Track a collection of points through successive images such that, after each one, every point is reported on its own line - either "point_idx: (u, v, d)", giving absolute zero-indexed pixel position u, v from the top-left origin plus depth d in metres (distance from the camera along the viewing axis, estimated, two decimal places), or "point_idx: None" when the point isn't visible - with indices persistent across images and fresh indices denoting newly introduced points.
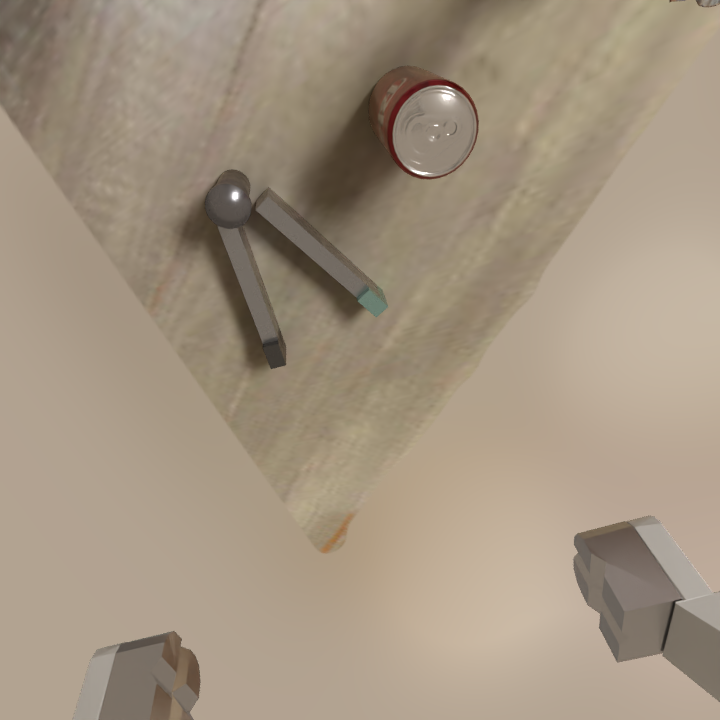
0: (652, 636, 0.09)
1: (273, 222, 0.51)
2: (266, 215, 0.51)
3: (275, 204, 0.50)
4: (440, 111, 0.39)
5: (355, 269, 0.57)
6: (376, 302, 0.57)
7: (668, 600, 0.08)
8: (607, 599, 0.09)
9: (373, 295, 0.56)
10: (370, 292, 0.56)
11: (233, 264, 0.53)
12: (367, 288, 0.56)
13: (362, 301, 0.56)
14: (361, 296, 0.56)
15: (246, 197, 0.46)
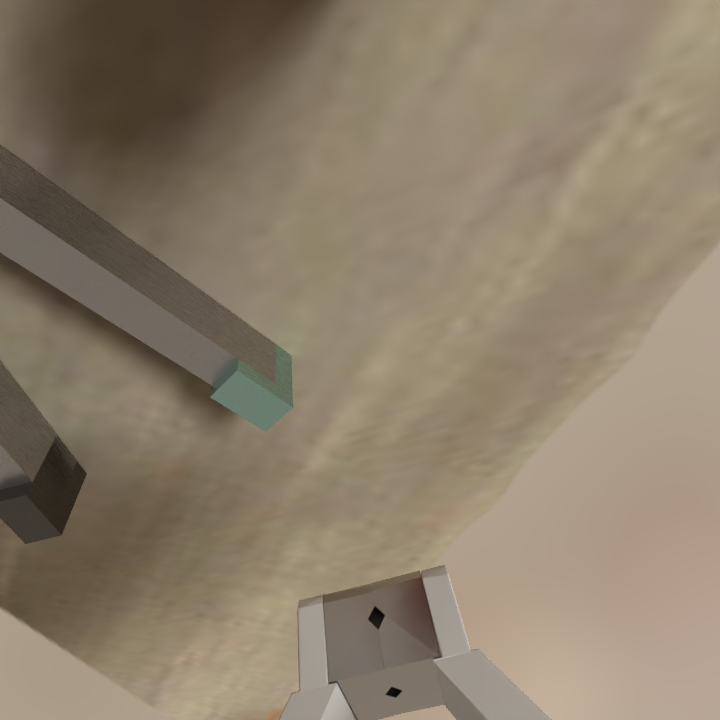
0: (427, 689, 0.09)
1: None
2: None
3: None
4: None
5: (210, 313, 0.23)
6: (261, 399, 0.22)
7: (428, 657, 0.09)
8: (384, 651, 0.09)
9: (250, 383, 0.22)
10: (241, 376, 0.21)
11: None
12: (235, 364, 0.22)
13: (223, 397, 0.22)
14: (219, 385, 0.22)
15: None
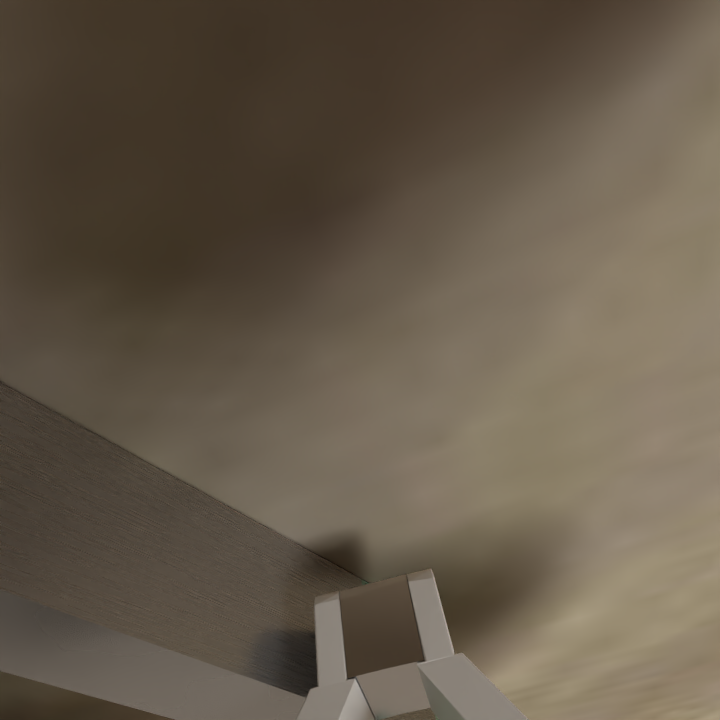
0: (412, 693, 0.09)
1: None
2: None
3: None
4: None
5: None
6: None
7: (412, 661, 0.09)
8: (369, 655, 0.09)
9: None
10: None
11: None
12: None
13: None
14: None
15: None
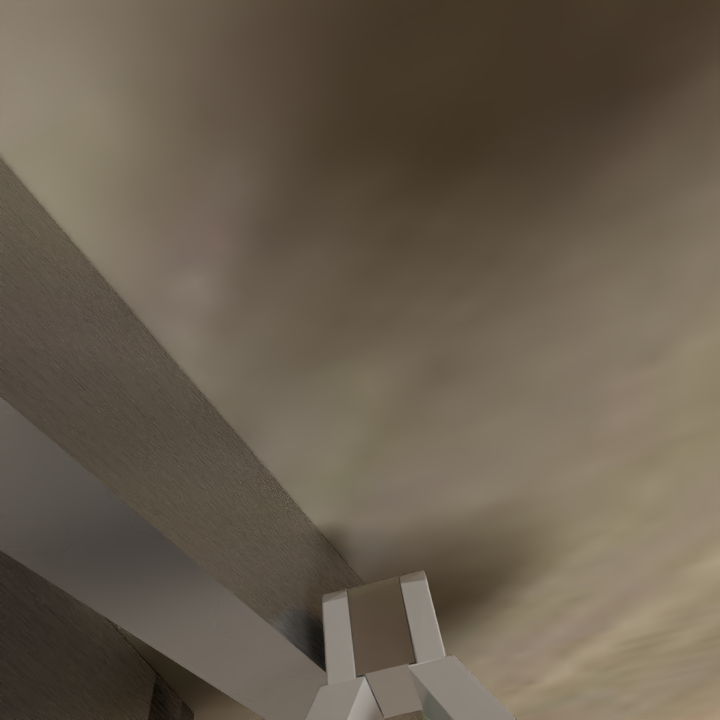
0: (403, 695, 0.09)
1: None
2: None
3: None
4: None
5: None
6: None
7: (403, 663, 0.09)
8: None
9: None
10: None
11: None
12: None
13: None
14: None
15: None
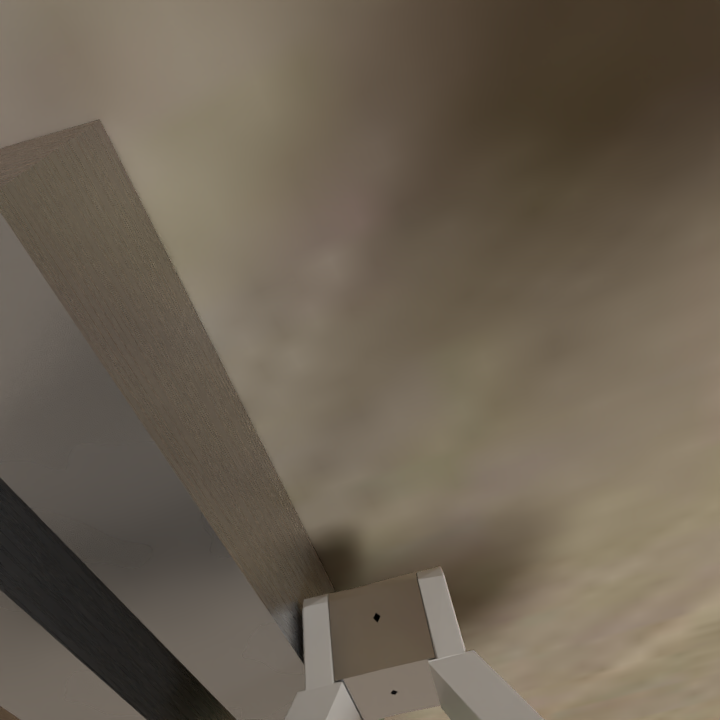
0: (422, 691, 0.09)
1: None
2: None
3: (52, 303, 0.05)
4: None
5: None
6: None
7: (423, 658, 0.09)
8: None
9: None
10: None
11: None
12: None
13: None
14: None
15: None
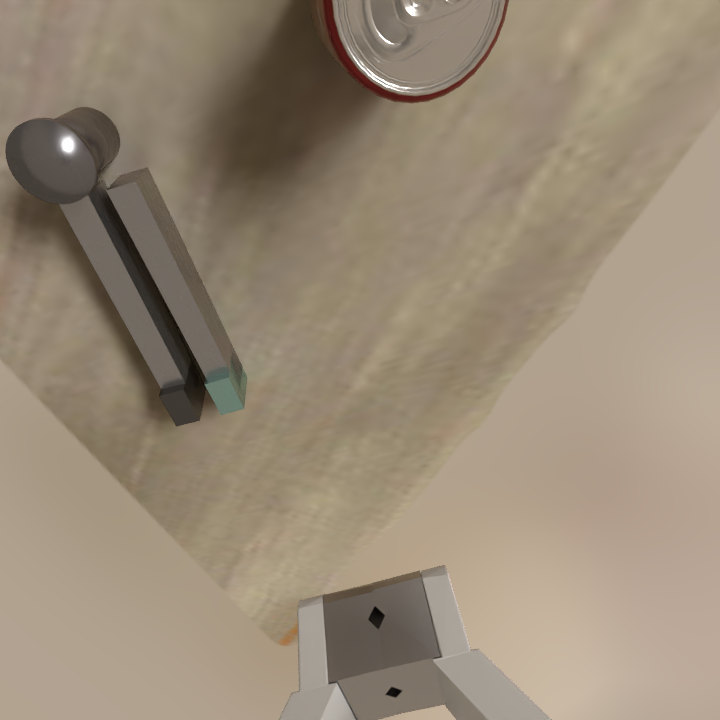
0: (427, 689, 0.09)
1: (127, 222, 0.31)
2: (120, 207, 0.31)
3: (142, 199, 0.31)
4: None
5: (222, 338, 0.38)
6: (230, 397, 0.38)
7: (428, 657, 0.09)
8: None
9: (230, 386, 0.38)
10: (228, 381, 0.37)
11: (95, 266, 0.32)
12: (226, 373, 0.38)
13: (211, 387, 0.38)
14: (212, 380, 0.37)
15: (82, 146, 0.26)
